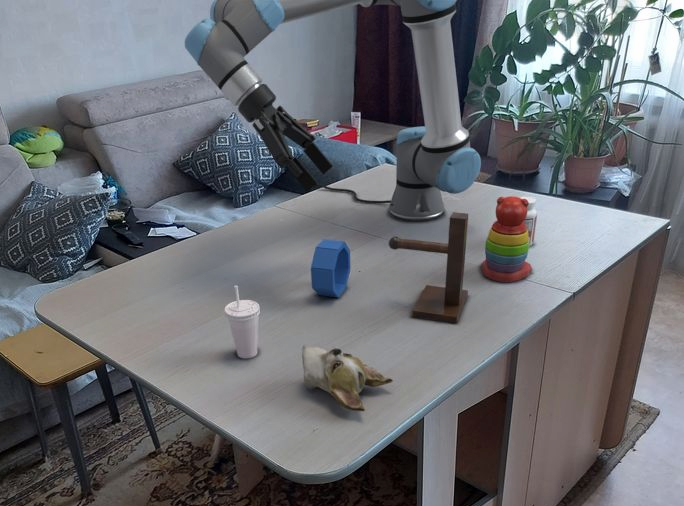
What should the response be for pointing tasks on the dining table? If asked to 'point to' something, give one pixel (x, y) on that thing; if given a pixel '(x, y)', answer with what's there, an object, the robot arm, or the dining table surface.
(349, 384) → the ceramic sculpture
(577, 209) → the dining table surface
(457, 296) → the stand
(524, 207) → the stacking bear
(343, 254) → the tape
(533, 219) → the pill bottle
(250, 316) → the smoothie
